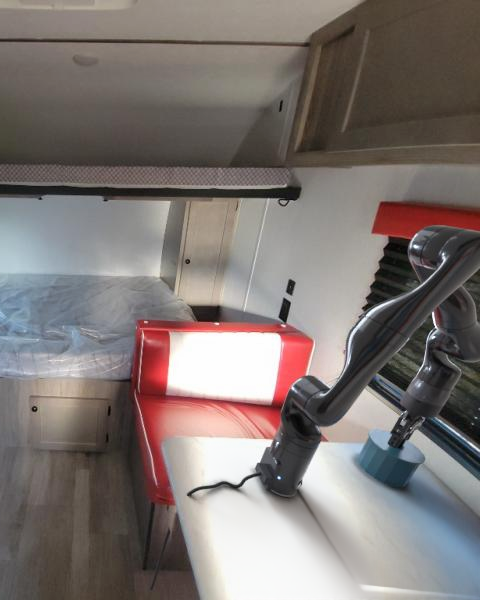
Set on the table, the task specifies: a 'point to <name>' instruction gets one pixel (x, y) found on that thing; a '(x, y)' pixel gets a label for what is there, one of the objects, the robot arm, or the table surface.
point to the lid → (403, 452)
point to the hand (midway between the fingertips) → (397, 442)
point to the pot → (385, 466)
